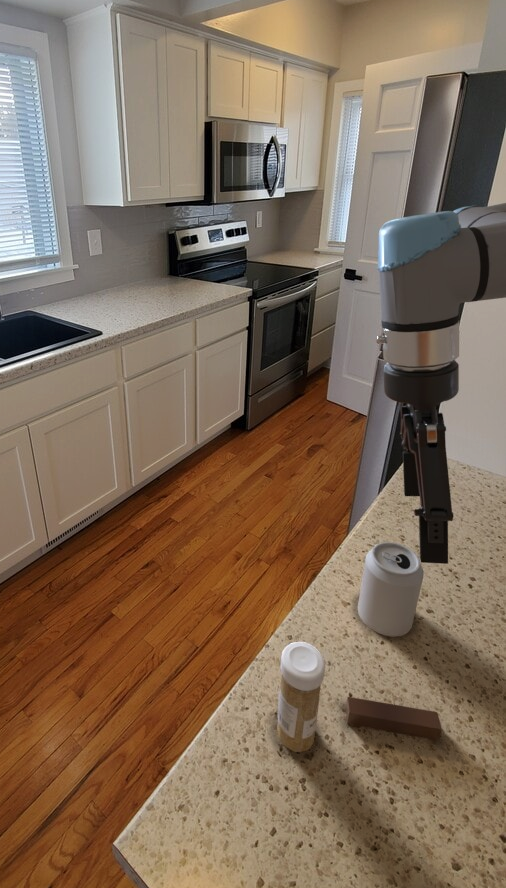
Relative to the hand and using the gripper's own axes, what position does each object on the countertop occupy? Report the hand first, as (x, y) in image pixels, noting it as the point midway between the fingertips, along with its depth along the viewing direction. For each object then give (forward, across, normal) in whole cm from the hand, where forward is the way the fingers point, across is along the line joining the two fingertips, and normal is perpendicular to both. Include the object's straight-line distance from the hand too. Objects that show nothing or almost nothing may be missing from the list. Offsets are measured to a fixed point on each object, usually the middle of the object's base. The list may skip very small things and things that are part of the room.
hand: (423, 524), depth 60 cm
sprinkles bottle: (+19, +16, -16) cm, 30 cm away
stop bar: (+20, +12, -6) cm, 24 cm away
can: (+20, -4, -5) cm, 21 cm away
